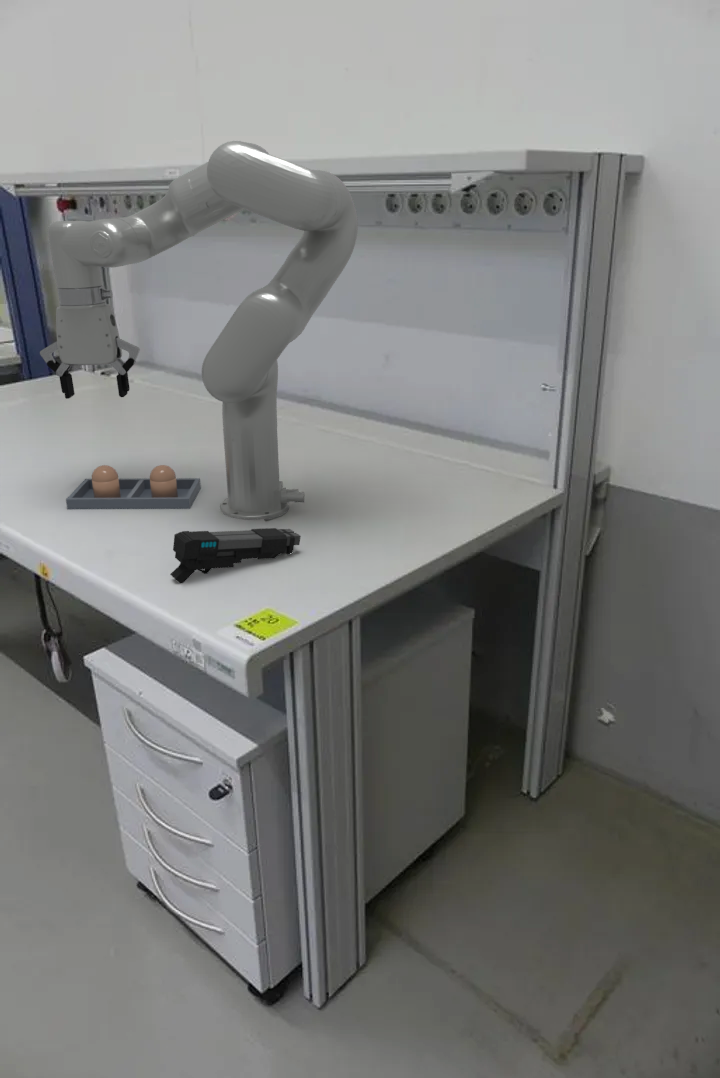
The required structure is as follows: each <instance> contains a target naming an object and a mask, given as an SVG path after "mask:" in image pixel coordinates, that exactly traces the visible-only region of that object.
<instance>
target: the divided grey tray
mask: <svg viewBox="0 0 720 1078" xmlns="http://www.w3.org/2000/svg"><path fill="white" fill-rule="evenodd" d="M176 483H177V493H178V497H154V498H152V494H151V485H150V477H149V478H146V477H145V478H119V486H120V494H121V498H94V492H93V484H92V478H84V479H83V480H82V481H81V483H80V484H79V485H78V486H77V487H76V488H75V489H74V491H72V492H71V493H70V495H69V496H67V498H66V499H65V502H66V509H67V510H183V509H184V510H190V509H191V508H192V506H193V504H194V502H195V500H196V498H197V496H198V494H199V492H200V490H201V488H202V485H201V478H200V477H199V478H198V477H194V478H191V477H189V478H188V477H185V478H183V477H180V478H178V477H176Z"/></svg>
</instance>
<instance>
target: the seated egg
mask: <svg viewBox="0 0 720 1078" xmlns="http://www.w3.org/2000/svg"><path fill="white" fill-rule="evenodd" d="M149 478H150V485H151V494H152V498H154V497H178V493H177V483H176V478H177V475H176V472H175V471H174V469H173V468H172V467H170V466H169V465H166V464H160V465H159V464H158V465H157V466H155V467H154V468H153V469H152V470H151V471H150V475H149Z"/></svg>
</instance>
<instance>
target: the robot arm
mask: <svg viewBox="0 0 720 1078" xmlns="http://www.w3.org/2000/svg"><path fill="white" fill-rule="evenodd" d="M245 210H246V211H248V212H250V213H253V214H256V215H257V216H261V217H264V218H266V219H268V220H271V221H274V222H276V223H279V224H282V225H284V226H287V227H290V228H292V229H296V230H299V231H302V232H303V233H302V236H301V237H300V239H299V241H298V242H297V243H296V245H295V246H294V247H293V248H292V249H291V251H290V252H289V254H288V255H287V257H286V259H285V260H284V262H283V264H282V265H281V267H280V268H279V269H278V271H277V272H276V274H275V275H274V276H273V278H272V279H271V280H270V282H269V283H267V284H266V285H264V286H263V287H260V288H258V289H256V290H255V291H252V292H251V293H249V294H248V295H247V296H246V297H245V298H244V299H243V300H242V302H241V303H240V304H239V305H238V306H237V308H236V310H234V312H233V314H232V315H231V317H230V318H229V320H228V321H227V323H226V324H225V326H224V327H223V329H222V330H221V332H220V333H219V335H218V336H217V338H216V340H215V341H214V343H212V345H211V347H210V348H209V350H208V352H207V353H206V354H205V357H204V359H203V362H202V364H201V379H202V382H203V386H204V387H205V390H206V391H207V392H208V394H209V395H210V396H211V397H213V398H215V400H217V401H219V402H222V405H221V406H222V409H221V411H222V431H223V445H224V447H223V448H224V461H225V476H226V487H227V488H226V489H227V498H225V499H224V500H222V501H221V503H220V504H219V510H220V512H221V513H222V515H225V516H226V517H229V518H232V519H237V520H245V521H246V520H249V521H250V520H254V521H255V520H264V521H268V520H273V519H276V518H279V517H281V516H283V515H285V513H287V512H288V511H289V509H290V503H305V491H299V490H300V489H299V488H289V489H287V488H286V487H283V486H284V483H283V481H282V480H280V468H279V467H280V466H279V465H280V464H279V444H278V443H279V442H278V441H279V440H278V438H279V437H278V411H277V410H278V409H277V408H278V407H277V396H278V381H279V380H278V379H279V365H278V358H280V356H281V355H282V353H283V352H284V350H285V349H286V348H287V347H288V345H289V344H290V343H292V342H293V341H294V340H296V339H297V338H298V337H299V336H300V335H301V334H302V333H303V332H304V330H305V328H306V326H307V325H308V324H309V321H310V320H311V318H312V317H313V315H314V314H315V312H316V311H317V309H318V308H319V307H320V305H321V304H322V302H323V301H324V299H325V298H326V297H327V296H328V294H329V292H330V290H331V289H332V287H333V286H334V284H335V283H336V281H338V278H339V277H340V276H341V274H342V272H343V271H344V269H345V268H346V266H347V264H348V263H349V260H350V259H351V257H352V254H353V252H354V249H355V247H356V242H357V237H358V229H359V227H358V225H359V222H358V213H357V208H356V205H355V202H354V199H353V197H352V195H351V192H350V189H348V188H347V186H346V185H345V183H344V182H343V181H342V180H341V179H340V178H339V177H338V176H336V175H335V174H333V173H331V172H330V171H327V170H326V171H325V170H320V169H311V168H307V167H305V166H302V165H299V164H297V163H294V162H292V161H288V160H285V159H283V158H281V157H277V156H276V155H273V154H270V153H269V152H268V151H267V150H266V149H265V148H263V147H262V146H260V145H258V144H256V143H252V142H251V143H250V142H246V141H241V140H232V141H227V142H224V143H222V144H220V145H219V146H217V148H215V150H213V152H212V154H210V157H209V159H208V161H206V162H205V163H203V164H201V165H200V166H198V167H196V168H194V169H191V170H190V171H188V172H186V173H184V174H181V175H180V176H178V177H176V178H174V179H173V180H172V181H171V182H170V183H169V185H168V190H167V192H166V193H165V194H164V196H163V197H162V198H161V199H159V200H158V201H156V202H154V203H152V204H150V205H149V206H147V207H145V208H142V209H141V210H139V211H137V212H136V213H133V214H131V215H129V216H125V217H123V216H122V217H121V216H120V217H111V218H102V219H101V218H100V219H96V220H91V221H87V220H59V221H58V220H57V221H53V222H51V223H50V224H49V225H48V226H47V235H48V244H49V247H50V254H51V255H50V256H51V261H52V266H53V267H52V268H53V271H54V273H53V274H54V278H55V284H56V290H57V296H58V302H59V306H57V307H56V311H55V313H56V314H55V328H56V331H55V332H56V333H55V335H56V341H54V342H53V343H51V344H49V345H48V346H46V347H44V348H43V349H42V350H40V351H39V355H40V356H41V358H42V359H43V360H44V363H46V365H47V367H48V368H49V369H50V370H52V371H53V372H54V373H55V374H56V376H57V377H59V383H60V389H61V392H62V394H64V397H65V400H66V399H71V398H72V397H73V396H75V394H76V393H75V387H74V382H73V376H72V374H71V372H69V370H70V369H71V368H72V366H98V365H99V366H102V365H103V366H104V365H111V367H113V369H114V370H115V371H116V372H117V375H116V383H117V384H116V385H117V389H118V396H119V397H120V398H124V397H126V396H127V395H128V392H129V391H130V381H129V375H128V372H129V371H130V370H131V369H132V367H133V366H134V365H135V364H136V363H137V358H138V356H139V353H140V351H141V349H140V347H138V346H137V345H134V344H133V343H130V342H128V341H126V340H124V339H122V338H121V337H120V333H119V329H118V325H117V321H116V318H115V314H114V311H113V307H112V305H111V304H109V303H106V301H107V300H108V299H113V291H112V290H111V289H107V288H105V285H103V278H102V271H101V268H110V269H111V268H119V267H123V266H128V265H133V264H134V265H135V264H139V263H142V262H144V261H146V260H149V259H151V258H153V257H155V256H157V255H159V254H162V253H163V252H165V251H167V250H169V249H171V248H173V247H175V246H177V245H178V244H181V243H182V242H184V241H186V240H188V239H189V238H191V237H195V235H197V234H199V233H200V232H202V231H204V230H207V229H208V228H210V227H212V226H215V225H216V224H217V223H220V222H222V221H224V220H226V219H228V218H230V217H232V216H234V215H235V214H238V213H241V212H242V211H245ZM56 351H57V352H58V357H59V360H60V363H59V361H57V360H56V359H55V358H54V356H53V353H54V352H56ZM123 351H125V352H128V358H127V360H126V361H124V360H123V359H122V357H123Z"/></svg>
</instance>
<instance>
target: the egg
mask: <svg viewBox="0 0 720 1078" xmlns="http://www.w3.org/2000/svg"><path fill="white" fill-rule="evenodd" d="M91 479H92V484H93V492H94V498H121V494H120V486H119V479H120V478H119V473H118V472H117V470H116V469H115V468H114V467H113V466H110V465H106V464H103V465H99V466H97V467H96V468H95V469H94V470H93V471H92V474H91Z"/></svg>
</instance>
